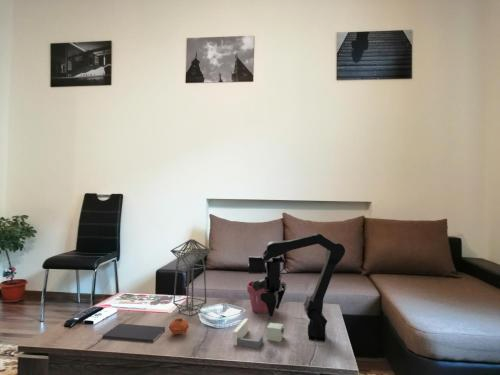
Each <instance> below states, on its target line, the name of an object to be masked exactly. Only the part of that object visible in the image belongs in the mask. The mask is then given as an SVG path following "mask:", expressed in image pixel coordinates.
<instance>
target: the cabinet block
mask: <svg viewBox="0 0 500 375" xmlns="http://www.w3.org/2000/svg"><path fill="white" fill-rule="evenodd" d="M284 332H285V328H284V324H283V323H276V322H275V323H274V322H269V324H268V325H267V327H266V341H272V342H278V343H279V342H280V343H281V341H282V340H283V338H284Z"/></svg>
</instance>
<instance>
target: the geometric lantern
mask: <svg viewBox="0 0 500 375" xmlns="http://www.w3.org/2000/svg"><path fill="white" fill-rule="evenodd" d="M188 246H189V247H188ZM180 247H181V248H180ZM202 247H203V248H205V249H203V248H202ZM178 248H180V249H178ZM177 249H178V250H177ZM192 250H193V253H191V252H192ZM212 251H213V250H212V249H210V248H208V247H207V246H205V245H204V244H203V243H201V242H199V241H197V240H196V239H191V238H190V239H188V240H187V241H185V242H184V243H182V244H179V245H178V246H176V247H174V248H173V249H171V250H170V252H171V253H172V254H173V255H174V257H175V258H177V260H176V265H175V275H174V276H175V277H174V278H175V279H174V289H173V290H174V291H173V305H175V306H176V308H178V314H182V315H184V316H189V317H191V316H194V315H196V314H199V313H198V312H199V310H200V309H201V310H202V307H204V306H205V305H206V304H207V290H206V289H207V287H206V286H207V285H206V284H207V282H206V277H207V276H206V275H207V274H206V267H207V266H206V264H205V257H207V255H209V254H210V253H211V252H212ZM196 254H197V255H196ZM190 255H193V256H194V257H195V258H196V259H195V260H194V261H193V263H190V262H189V260H188V259H187V257H188V256H190ZM180 260H183V263H184V264H182V265H179V264H180ZM185 260H186V261H185ZM199 260H201V261H202V264H197V261H199ZM186 262H187V263H188V264H187V263H186ZM184 266H185V268H184ZM194 266H198V267H196V268H194ZM179 269H182V270H187V275H186V276H187V277H186V278H187V279H186V297H184V298H180V299H178V300H176V291H177V290H176V289H177V280H178V272H179V271H178V270H179ZM199 269H203V280H204V285H203V286H204V299H201V298H197V297H194V281H195V280H194V275H195V274H194V273H195V272H194V270H199ZM190 275H191V296H190V297H189V290H190V289H189V288H190ZM189 299H191V300H190V303H189ZM184 300H186V302H185V303H186V304H180V303H177V302H180V301H184ZM194 300H197V301H201V302H202V303H201V302H200V303H198V304H194ZM194 307H197V308H194ZM183 311H188V312H189V313H188V314H186V313H183ZM193 311H196V312H195V313H191V312H193Z"/></svg>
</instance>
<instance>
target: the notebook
mask: <svg viewBox="0 0 500 375" xmlns="http://www.w3.org/2000/svg"><path fill="white" fill-rule="evenodd" d="M165 331H166V326H156V325H143V324H142V325H140V324H133V323H132V324H131V323H130V324H129V323H119V324H117V325H115V326H114V327H113V328H111V329H109V331H107V332H106V333H104V334H103V335H102V337H101V338H102V339H108V340H117V341H118V340H120V341H131V342H142V343H154V342H155V341H156V340H157V339H158V338H159V337H160V335H162V334H163V333H164V332H165Z"/></svg>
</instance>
